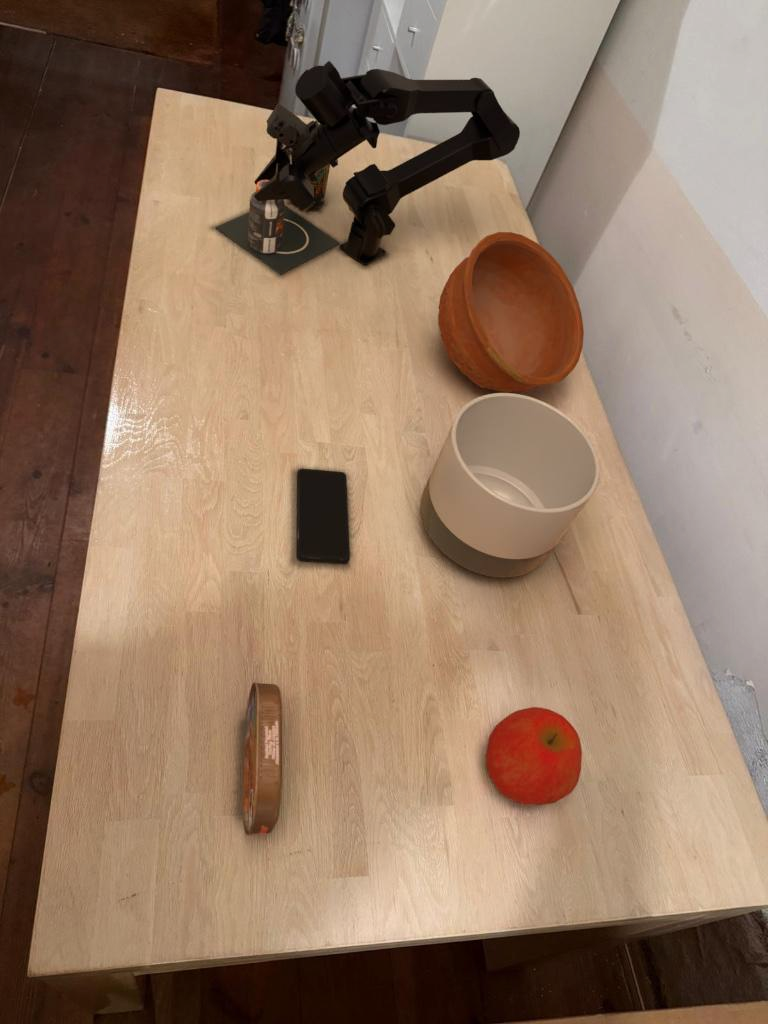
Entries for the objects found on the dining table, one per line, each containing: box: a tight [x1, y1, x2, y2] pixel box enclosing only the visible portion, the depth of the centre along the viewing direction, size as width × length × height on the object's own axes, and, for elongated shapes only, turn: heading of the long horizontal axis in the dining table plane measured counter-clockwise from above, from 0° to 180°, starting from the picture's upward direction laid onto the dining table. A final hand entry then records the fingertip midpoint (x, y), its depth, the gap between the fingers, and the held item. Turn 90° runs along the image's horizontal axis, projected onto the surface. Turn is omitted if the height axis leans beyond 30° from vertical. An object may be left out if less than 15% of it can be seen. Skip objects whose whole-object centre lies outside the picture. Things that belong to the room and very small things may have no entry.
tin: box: [242, 681, 283, 836], centre depth 76 cm, size 15×3×8 cm, turn 5°
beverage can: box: [289, 164, 331, 211], centre depth 140 cm, size 7×7×12 cm
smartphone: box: [296, 468, 351, 564], centre depth 100 cm, size 7×1×15 cm
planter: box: [420, 392, 601, 578], centre depth 98 cm, size 19×19×18 cm
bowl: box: [437, 231, 585, 393], centre depth 121 cm, size 25×25×15 cm
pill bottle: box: [248, 180, 286, 253], centre depth 128 cm, size 6×6×11 cm
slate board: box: [214, 205, 341, 276], centre depth 135 cm, size 16×16×1 cm
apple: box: [485, 706, 583, 806], centre depth 81 cm, size 10×10×10 cm
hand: (255, 191), depth 124 cm, fingers closed on pill bottle, 4 cm apart
